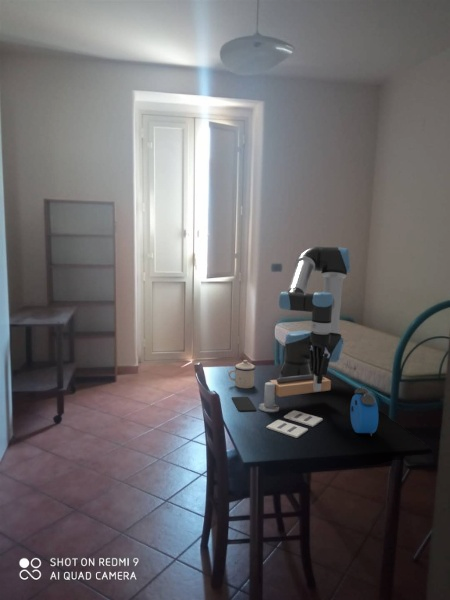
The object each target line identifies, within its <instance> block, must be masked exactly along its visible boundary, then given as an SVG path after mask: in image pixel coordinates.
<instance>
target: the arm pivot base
mask: <svg viewBox="0 0 450 600" xmlns="http://www.w3.org/2000/svg"><path fill="white" fill-rule="evenodd" d="M258 410H260V412H264V413H270V414H272V413H276V412H279V411H280V406H279V405H278V404H276V403H274V407H272V408H267V407H265V406H264V402H263V403H259V404H258Z"/></svg>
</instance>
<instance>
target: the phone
mask: <svg viewBox="0 0 450 600" xmlns="http://www.w3.org/2000/svg"><path fill="white" fill-rule="evenodd" d="M231 401H232V403H233V404H234V406H235V408H236V410H237V411H238V413H239V412H240V413H242V412H243V413H246V412H247V413H249V412H257V408H256V406H255V404H254V403H253V401H252V400H251V399H250V397H249V396H233V397H231Z"/></svg>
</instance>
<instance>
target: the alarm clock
mask: <svg viewBox="0 0 450 600" xmlns="http://www.w3.org/2000/svg"><path fill="white" fill-rule="evenodd" d="M349 413H350V422H351V426H352V429H353V431H354V432H355V433H357V434H370V437H372V436H373V434H374V433H375V432H376V431H377V430H378V425H379V408H378V403H377V400H376V397H375V396H374V395H373V394H371V393H370V391H369V390H368V389H367V388H366V387H362V386H361V387H358V388H357V389H355V391H354V395H353V396H352V398H351V401H350V411H349Z"/></svg>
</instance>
